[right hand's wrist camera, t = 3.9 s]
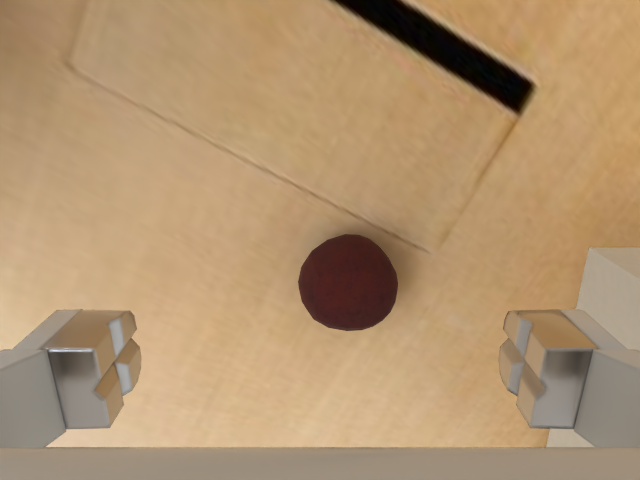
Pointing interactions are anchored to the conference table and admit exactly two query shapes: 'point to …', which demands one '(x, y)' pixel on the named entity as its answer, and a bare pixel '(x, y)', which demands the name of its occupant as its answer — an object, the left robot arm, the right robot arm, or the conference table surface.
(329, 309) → the dark red round ball
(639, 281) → the bar
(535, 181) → the conference table surface
